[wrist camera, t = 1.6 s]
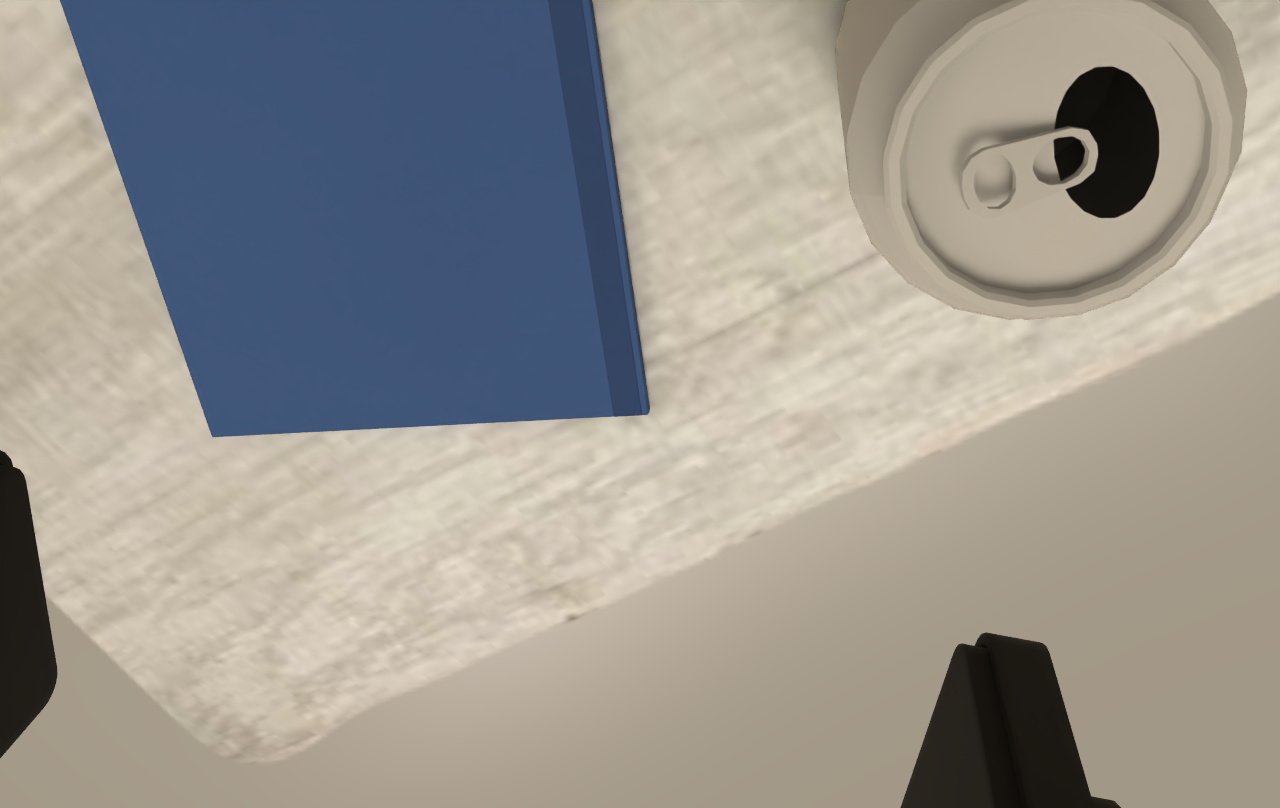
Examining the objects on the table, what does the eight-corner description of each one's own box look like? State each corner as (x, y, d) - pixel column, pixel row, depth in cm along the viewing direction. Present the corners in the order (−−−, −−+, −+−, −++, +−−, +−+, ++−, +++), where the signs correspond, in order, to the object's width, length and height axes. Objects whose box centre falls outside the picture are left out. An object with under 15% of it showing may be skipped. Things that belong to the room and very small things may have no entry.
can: (1130, 139, 31) (1294, 305, 21) (866, 207, 33) (893, 390, 23) (1095, -142, 28) (1266, -116, 18) (806, -50, 30) (806, 24, 20)
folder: (3, -186, 31) (-7, -186, 31) (553, -277, 28) (549, -279, 28) (216, 432, 40) (211, 437, 40) (650, 409, 37) (648, 415, 37)
